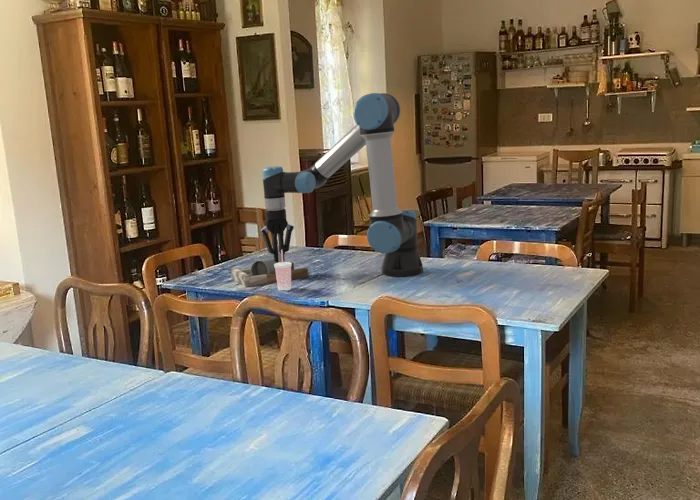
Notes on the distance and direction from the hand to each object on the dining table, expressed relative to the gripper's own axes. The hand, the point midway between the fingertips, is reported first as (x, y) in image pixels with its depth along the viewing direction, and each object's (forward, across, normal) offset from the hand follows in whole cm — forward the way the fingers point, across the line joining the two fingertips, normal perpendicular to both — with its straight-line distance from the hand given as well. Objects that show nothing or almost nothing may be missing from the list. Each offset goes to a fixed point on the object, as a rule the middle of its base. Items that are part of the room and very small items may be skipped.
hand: (280, 270), depth 269 cm
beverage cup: (+2, +6, +21) cm, 22 cm away
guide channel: (+2, +4, +1) cm, 5 cm away
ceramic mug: (+2, +7, +1) cm, 8 cm away
